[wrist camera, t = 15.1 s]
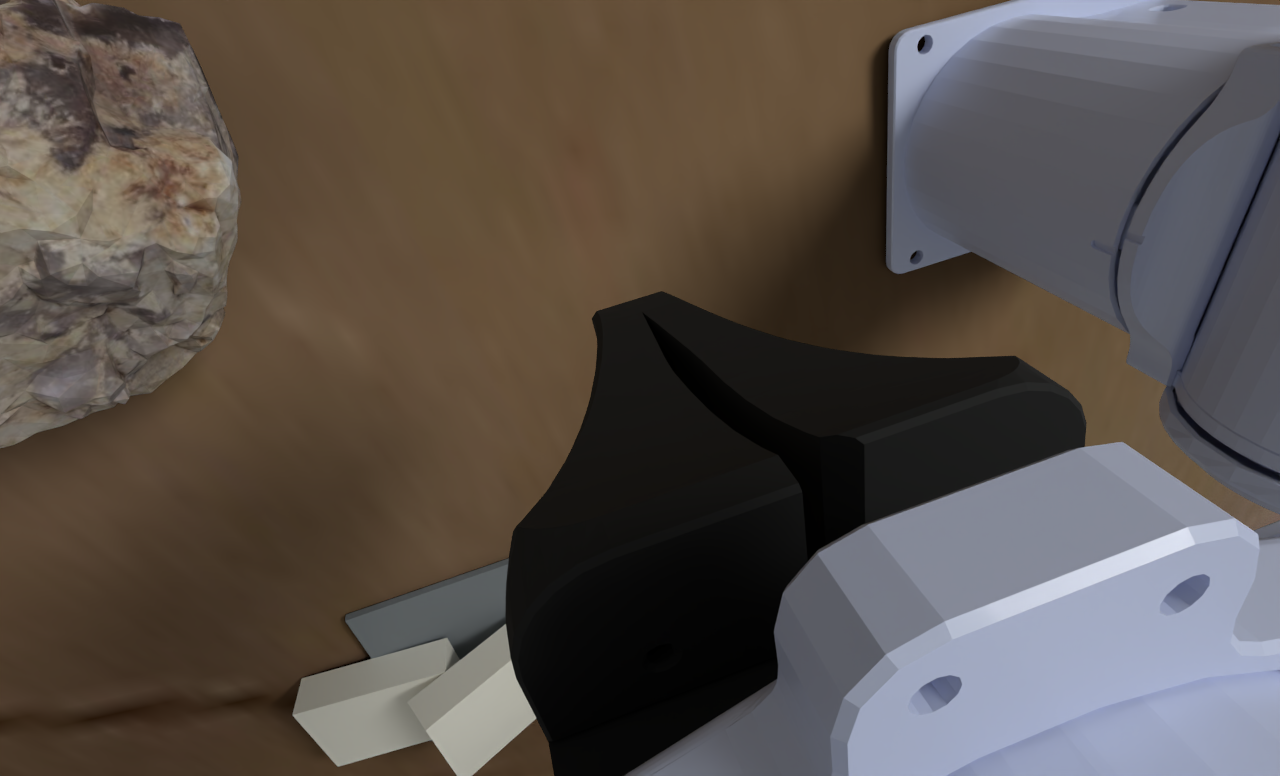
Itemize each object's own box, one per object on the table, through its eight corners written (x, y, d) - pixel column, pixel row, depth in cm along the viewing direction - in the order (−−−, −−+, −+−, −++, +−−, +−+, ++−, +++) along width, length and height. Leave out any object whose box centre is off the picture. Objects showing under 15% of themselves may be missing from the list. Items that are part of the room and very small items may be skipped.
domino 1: (444, 672, 27) (292, 715, 26) (478, 726, 29) (337, 766, 29) (447, 637, 28) (301, 678, 28) (478, 692, 30) (344, 730, 30)
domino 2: (557, 621, 28) (425, 730, 25) (580, 678, 30) (462, 783, 27) (535, 600, 29) (407, 702, 26) (559, 656, 31) (444, 755, 28)
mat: (943, 408, 30) (947, 411, 30) (932, 547, 35) (936, 552, 35) (345, 614, 27) (344, 620, 26) (429, 735, 32) (429, 741, 32)
